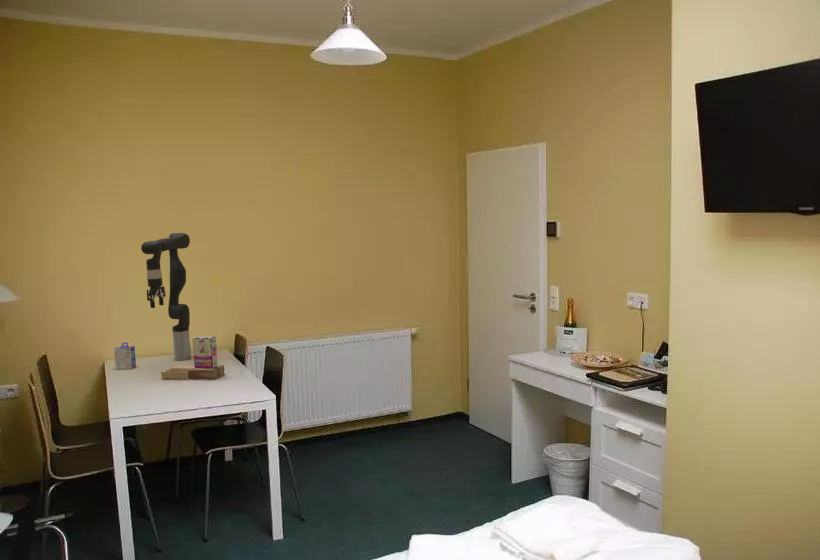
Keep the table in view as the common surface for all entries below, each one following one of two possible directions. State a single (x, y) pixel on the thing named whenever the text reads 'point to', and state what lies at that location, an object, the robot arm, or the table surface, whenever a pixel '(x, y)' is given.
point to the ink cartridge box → (125, 357)
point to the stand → (206, 372)
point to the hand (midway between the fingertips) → (157, 306)
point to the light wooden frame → (177, 372)
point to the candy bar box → (205, 352)
